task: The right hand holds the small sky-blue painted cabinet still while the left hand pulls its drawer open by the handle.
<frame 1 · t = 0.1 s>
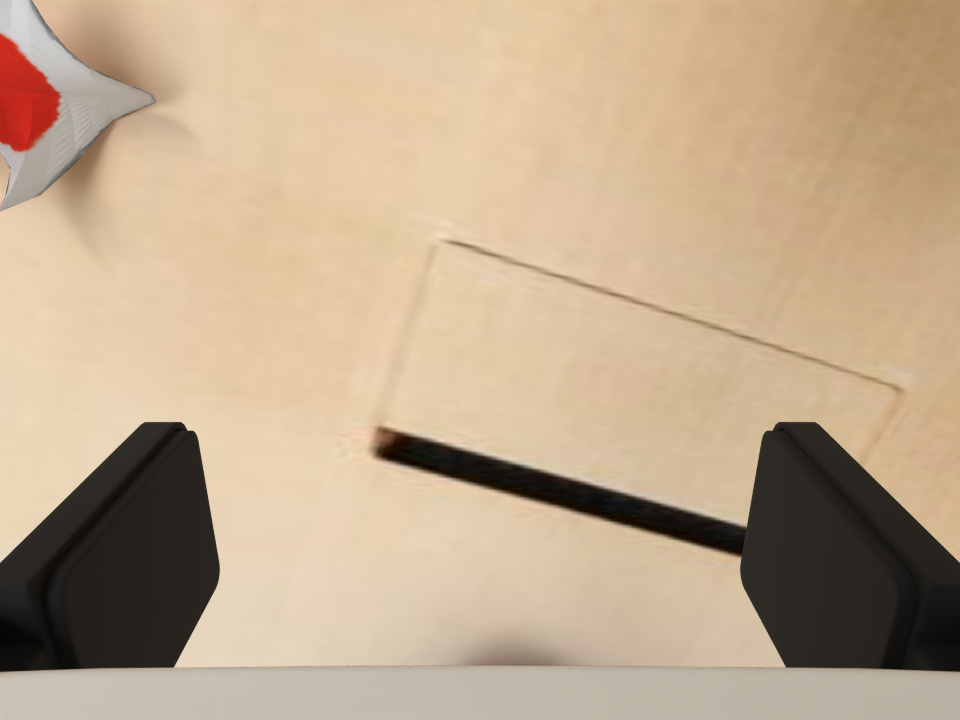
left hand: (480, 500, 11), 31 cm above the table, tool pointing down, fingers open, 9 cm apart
fish: (29, 78, 38), on the table
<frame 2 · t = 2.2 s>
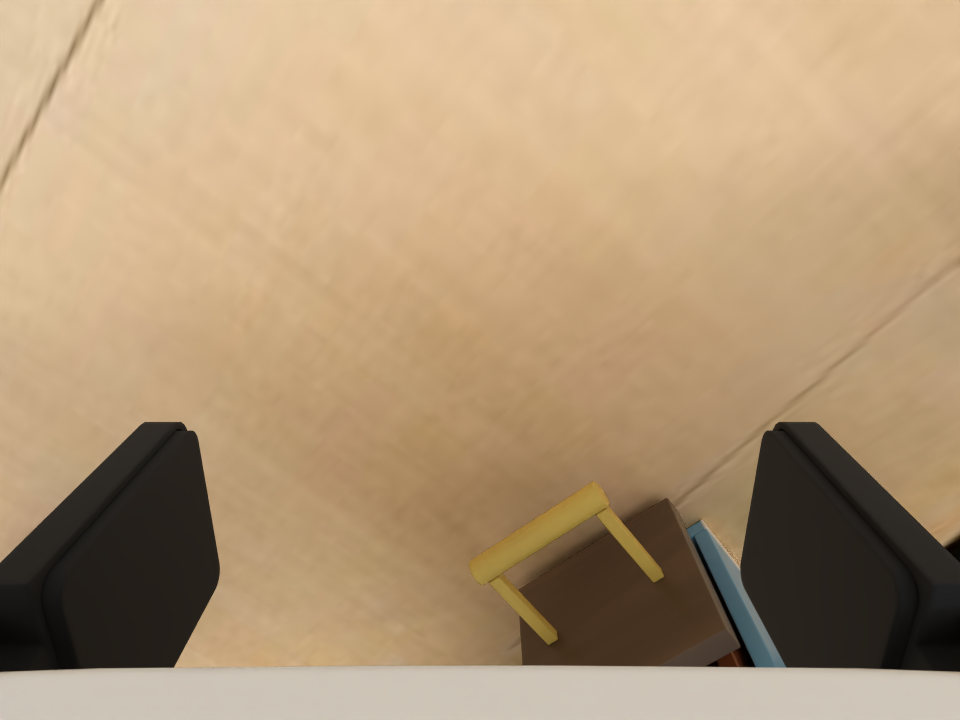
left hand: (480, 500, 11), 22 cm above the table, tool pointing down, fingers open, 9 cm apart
cabinet: (701, 665, 41), on the table
drawer: (665, 675, 34), point 6 cm above the table, slide at 1.8 cm
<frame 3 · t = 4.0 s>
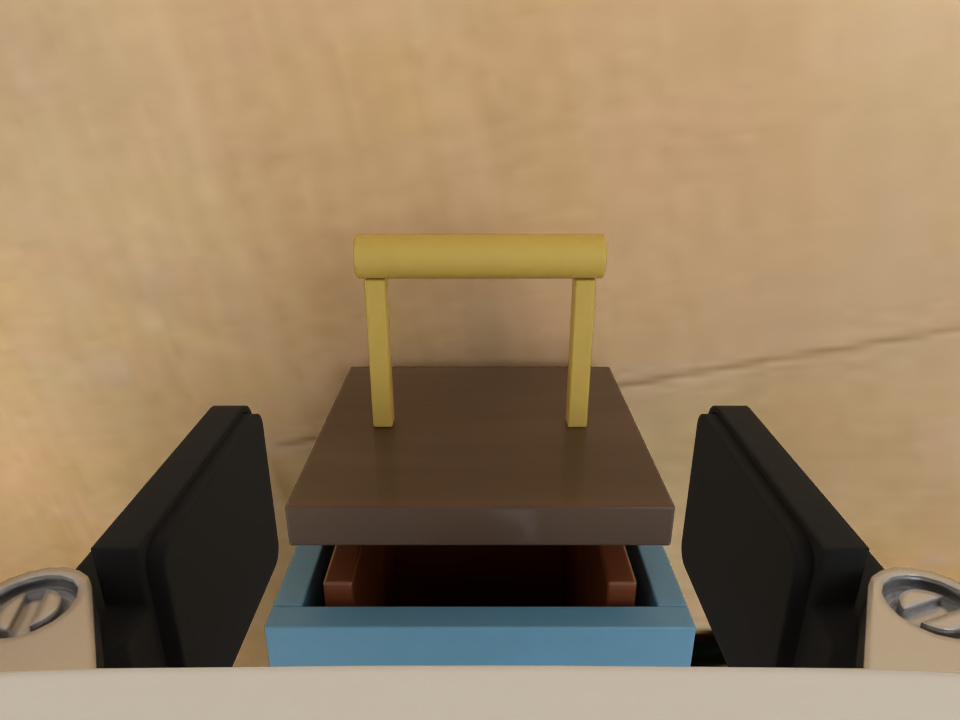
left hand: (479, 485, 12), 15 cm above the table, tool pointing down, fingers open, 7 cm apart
cabinet: (480, 602, 31), on the table, touching right hand
drawer: (480, 564, 23), point 6 cm above the table, slide at 1.8 cm
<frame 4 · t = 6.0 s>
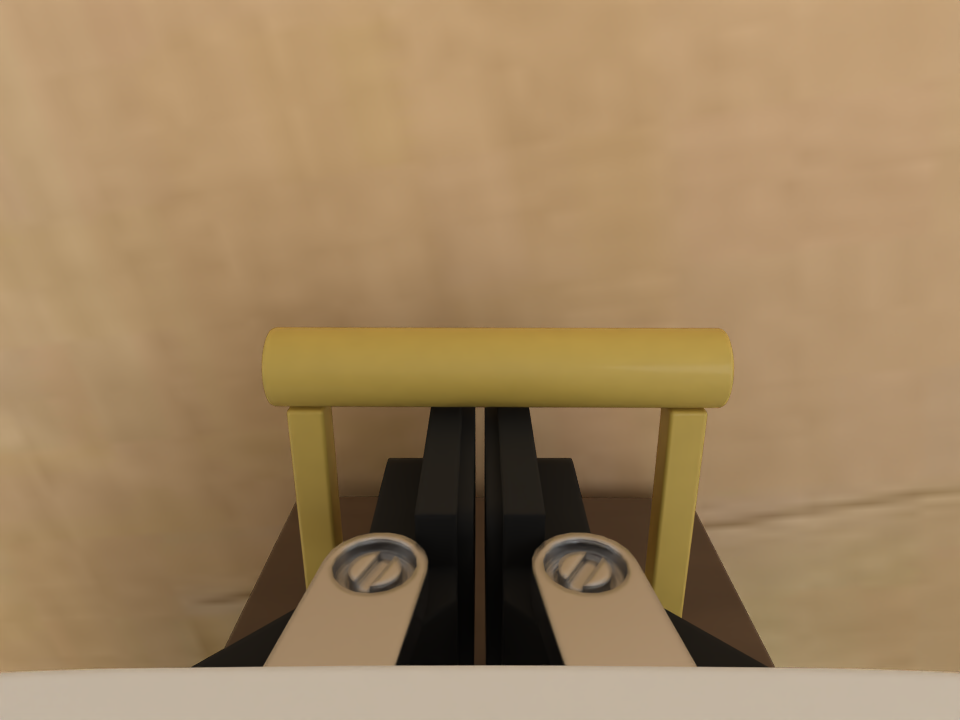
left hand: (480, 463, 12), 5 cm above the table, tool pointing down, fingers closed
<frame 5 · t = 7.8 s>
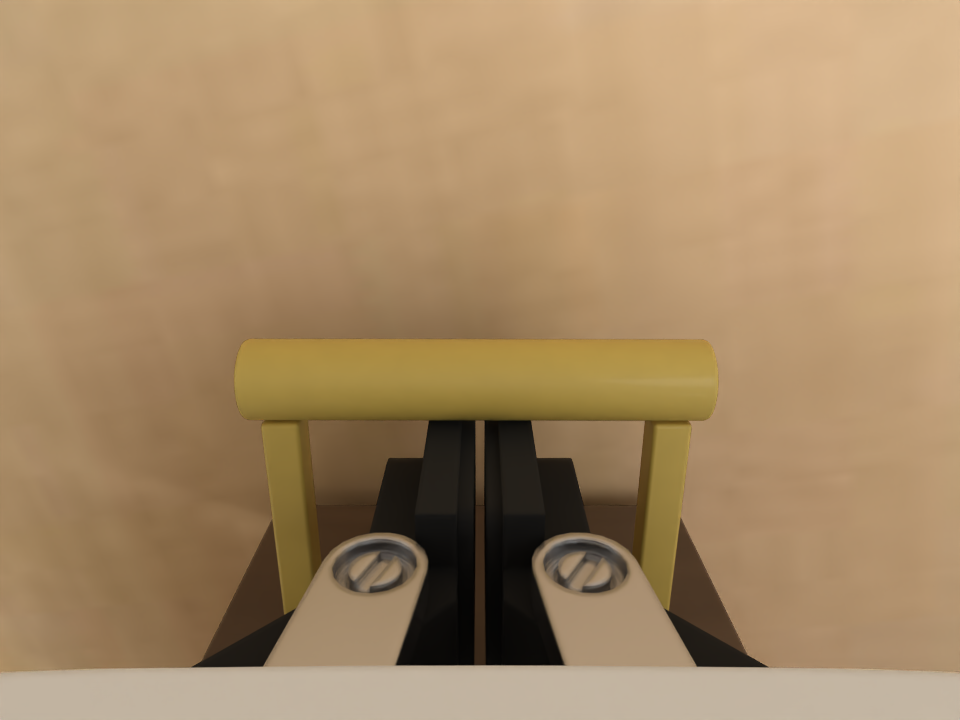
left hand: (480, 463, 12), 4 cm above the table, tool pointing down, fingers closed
when the right hand's fingers open (7 cm above the table, at t = 9.3 s): cabinet stays where it is, on the table.
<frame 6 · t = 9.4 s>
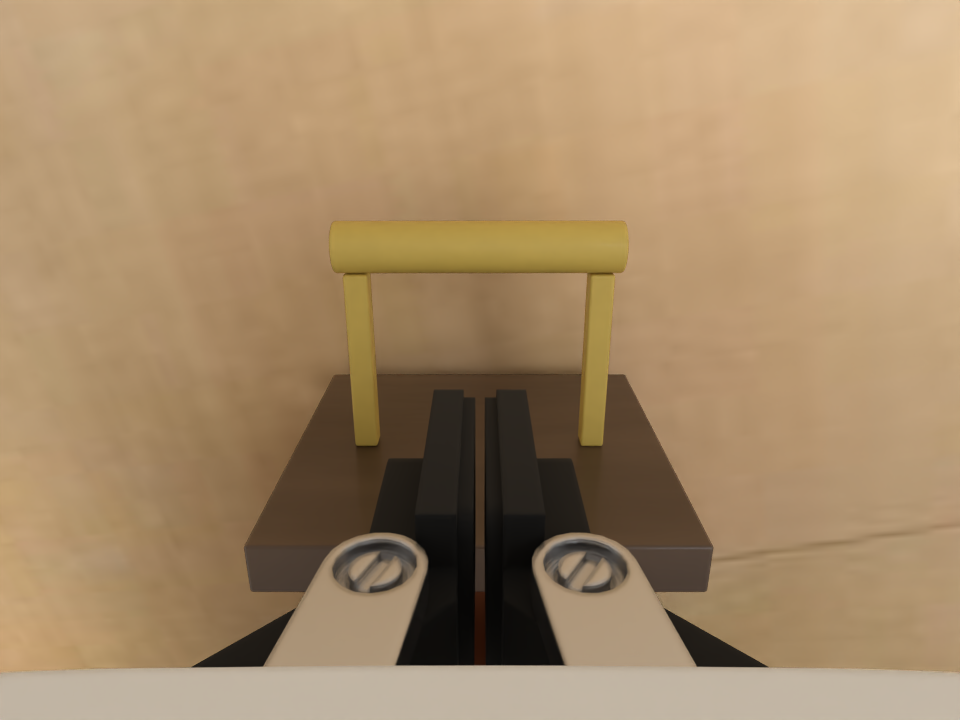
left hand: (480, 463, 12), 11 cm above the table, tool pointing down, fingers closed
drawer: (479, 600, 20), point 6 cm above the table, slide at 9.7 cm
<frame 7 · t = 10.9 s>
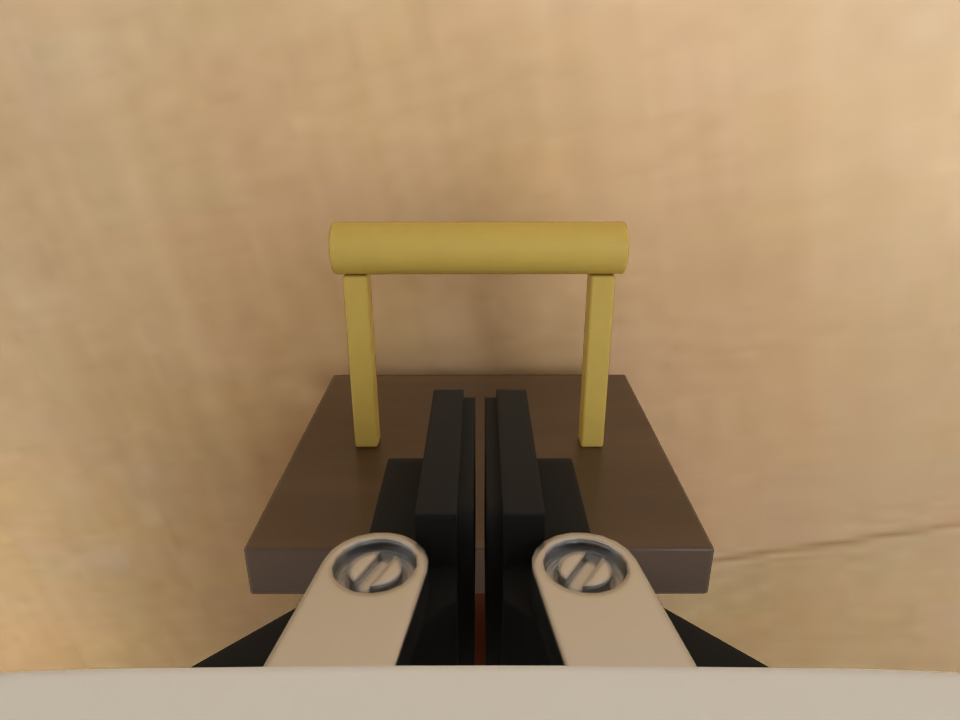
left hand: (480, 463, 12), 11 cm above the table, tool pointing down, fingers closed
drawer: (479, 601, 20), point 6 cm above the table, slide at 9.7 cm
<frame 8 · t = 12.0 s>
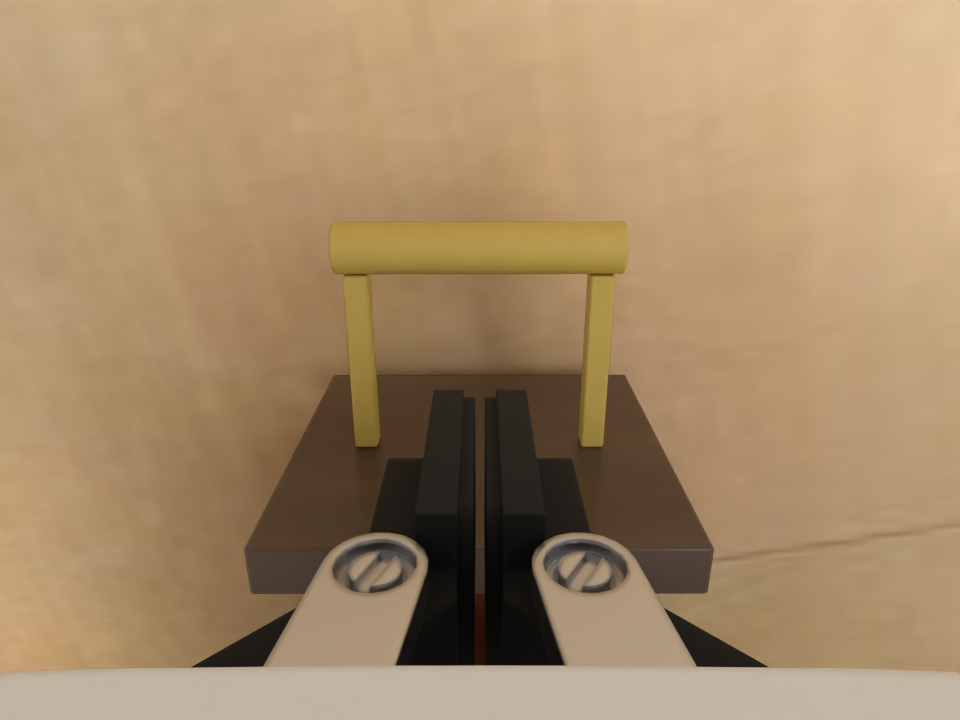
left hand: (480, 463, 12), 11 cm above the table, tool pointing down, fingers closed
drawer: (479, 601, 20), point 6 cm above the table, slide at 9.7 cm
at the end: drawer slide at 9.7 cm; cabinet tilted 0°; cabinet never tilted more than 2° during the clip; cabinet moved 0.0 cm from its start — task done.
